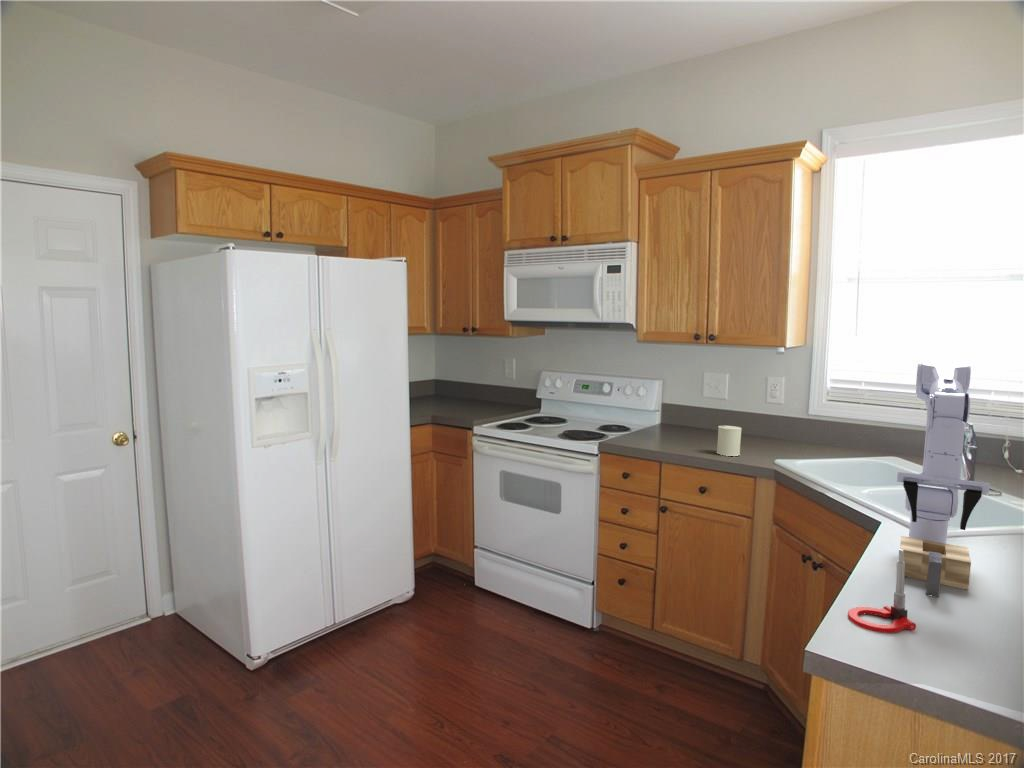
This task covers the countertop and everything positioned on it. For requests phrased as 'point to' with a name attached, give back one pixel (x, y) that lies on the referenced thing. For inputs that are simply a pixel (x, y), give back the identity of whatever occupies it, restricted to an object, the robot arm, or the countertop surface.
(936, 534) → the robot arm
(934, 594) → the grey flat piece
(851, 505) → the countertop surface
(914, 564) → the slotted wooden block
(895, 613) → the tow hook
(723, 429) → the can
